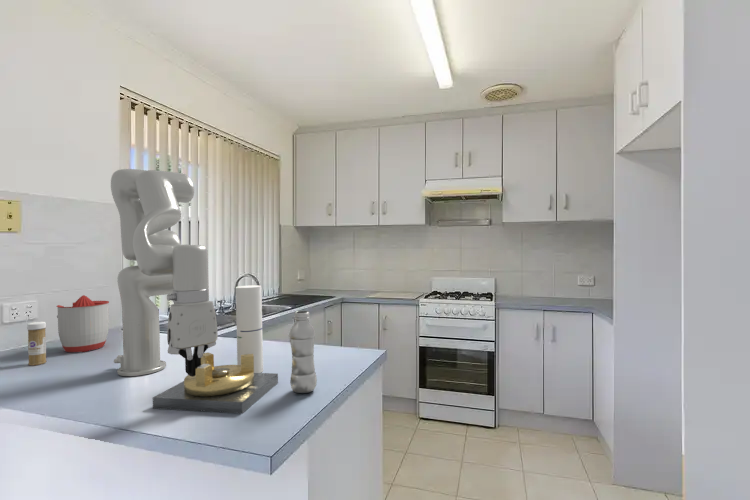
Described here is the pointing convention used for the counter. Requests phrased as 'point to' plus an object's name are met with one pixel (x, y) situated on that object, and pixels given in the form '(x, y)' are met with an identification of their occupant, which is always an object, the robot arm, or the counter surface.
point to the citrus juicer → (83, 325)
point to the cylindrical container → (249, 324)
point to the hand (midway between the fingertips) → (193, 374)
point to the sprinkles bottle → (36, 343)
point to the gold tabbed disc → (220, 377)
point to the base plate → (216, 397)
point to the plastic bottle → (302, 354)
